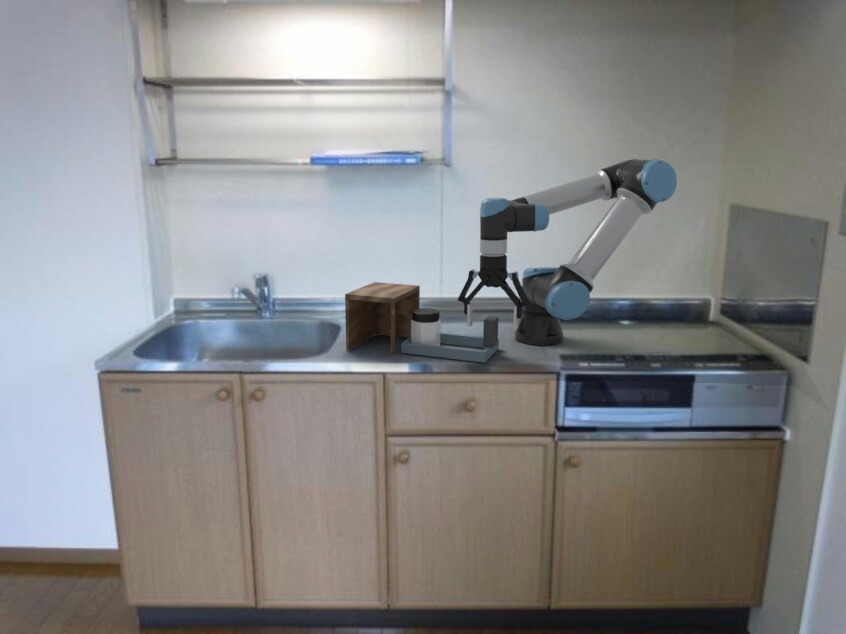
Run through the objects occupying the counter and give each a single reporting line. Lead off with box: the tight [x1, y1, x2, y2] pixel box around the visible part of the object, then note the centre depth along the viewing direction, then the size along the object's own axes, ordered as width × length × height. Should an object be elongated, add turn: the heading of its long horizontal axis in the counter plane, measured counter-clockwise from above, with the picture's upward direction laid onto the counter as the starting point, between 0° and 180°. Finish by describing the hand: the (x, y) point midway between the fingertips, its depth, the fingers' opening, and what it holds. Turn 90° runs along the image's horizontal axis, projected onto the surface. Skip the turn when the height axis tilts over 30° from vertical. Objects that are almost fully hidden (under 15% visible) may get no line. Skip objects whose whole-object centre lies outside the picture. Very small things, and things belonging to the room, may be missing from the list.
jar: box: [411, 307, 442, 346], centre depth 199 cm, size 9×8×12 cm
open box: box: [344, 281, 421, 356], centre depth 205 cm, size 16×20×17 cm
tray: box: [400, 315, 500, 363], centre depth 198 cm, size 26×15×11 cm, turn 69°
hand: (492, 327), depth 193 cm, fingers open, 13 cm apart
